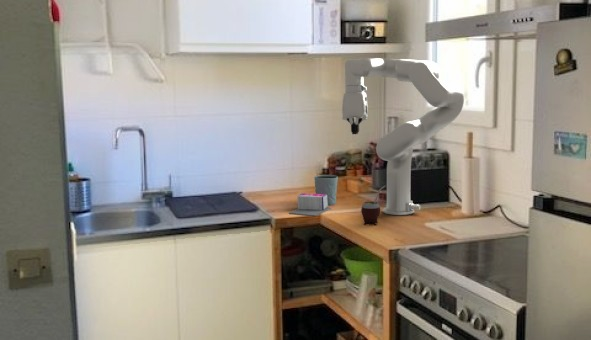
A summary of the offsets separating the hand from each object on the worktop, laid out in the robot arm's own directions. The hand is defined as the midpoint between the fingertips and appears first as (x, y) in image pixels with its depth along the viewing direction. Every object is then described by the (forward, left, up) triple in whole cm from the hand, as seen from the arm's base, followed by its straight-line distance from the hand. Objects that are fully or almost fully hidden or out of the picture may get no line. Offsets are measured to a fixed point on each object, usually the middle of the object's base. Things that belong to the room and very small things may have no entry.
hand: (355, 133), depth 271 cm
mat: (+14, +15, -31) cm, 37 cm away
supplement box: (+9, +11, -28) cm, 31 cm away
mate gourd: (-17, +25, -31) cm, 44 cm away
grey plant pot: (+14, -1, -31) cm, 34 cm away
